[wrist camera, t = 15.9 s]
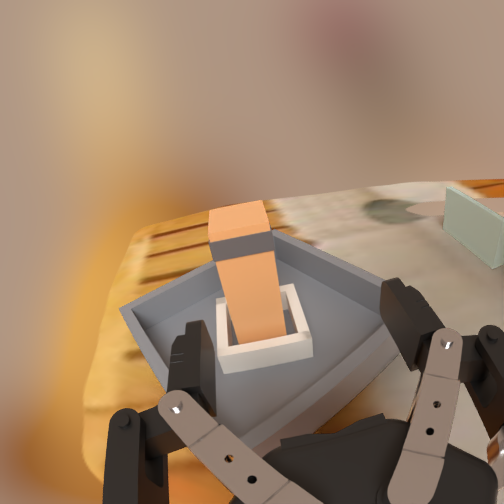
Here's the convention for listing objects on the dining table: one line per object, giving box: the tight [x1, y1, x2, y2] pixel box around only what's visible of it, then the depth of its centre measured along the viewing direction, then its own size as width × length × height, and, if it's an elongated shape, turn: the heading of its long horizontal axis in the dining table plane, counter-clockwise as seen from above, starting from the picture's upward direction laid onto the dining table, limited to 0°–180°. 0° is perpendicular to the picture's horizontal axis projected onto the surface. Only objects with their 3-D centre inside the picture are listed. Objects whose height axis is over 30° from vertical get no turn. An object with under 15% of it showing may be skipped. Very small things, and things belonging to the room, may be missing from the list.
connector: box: [208, 200, 287, 345], centre depth 28 cm, size 5×5×13 cm
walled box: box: [119, 229, 400, 458], centre depth 31 cm, size 22×22×4 cm
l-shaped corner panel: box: [443, 187, 504, 269], centre depth 37 cm, size 12×12×8 cm
